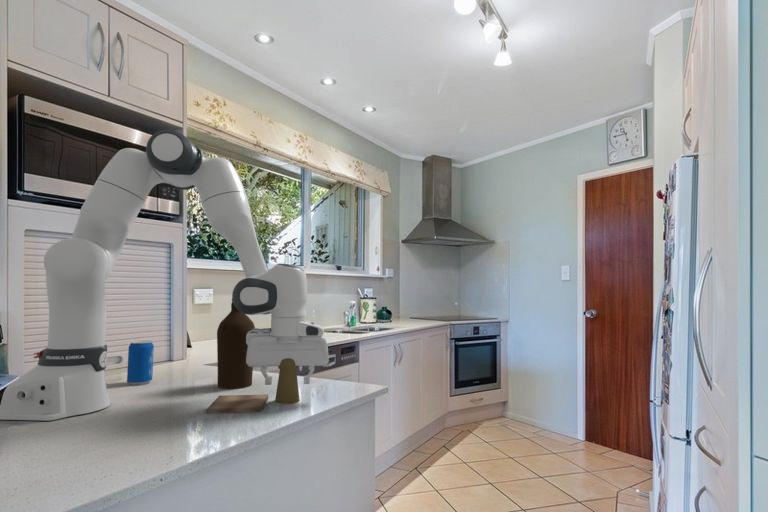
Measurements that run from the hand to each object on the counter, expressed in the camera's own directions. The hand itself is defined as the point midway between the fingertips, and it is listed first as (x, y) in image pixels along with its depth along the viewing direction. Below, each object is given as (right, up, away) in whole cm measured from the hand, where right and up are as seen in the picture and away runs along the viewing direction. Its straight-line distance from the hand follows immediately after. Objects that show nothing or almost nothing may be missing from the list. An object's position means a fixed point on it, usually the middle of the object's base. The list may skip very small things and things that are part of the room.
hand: (287, 383), depth 110 cm
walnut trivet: (-10, -4, -5) cm, 12 cm away
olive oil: (-19, -5, +17) cm, 26 cm away
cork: (0, -4, 0) cm, 4 cm away
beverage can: (-47, -5, +18) cm, 51 cm away
